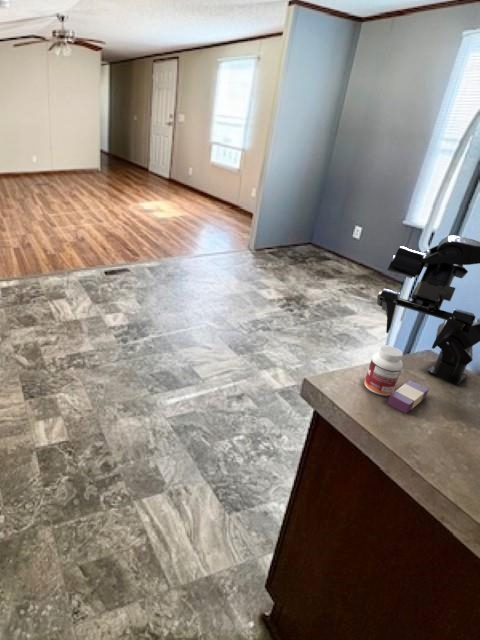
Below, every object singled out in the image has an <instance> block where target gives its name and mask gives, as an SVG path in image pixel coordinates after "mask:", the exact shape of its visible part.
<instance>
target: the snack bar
mask: <svg viewBox="0 0 480 640" xmlns="http://www.w3.org/2000/svg"><path fill="white" fill-rule="evenodd" d="M429 390H430V389H429V388H427V387H425V386H423V385H421V384H420V383H417V382H414V381H413V380H408V381H407V382H406V383H404V384H402V385H401V386H400V387H399V388H398V389H396V390H394V392H393V393H392V394H391V395H389V397H388V400H387V403H386V404H387V405H389V406H390V407H393V408H395V409H396V410H398V411H400V412H402V413H404V414H407V413H409V412H410V411H411V410H413V409H414V408H415V407H416V406H417V405H419V404H420V403H421V402H422V401H423V400H425V399H426V397H427V395H428V393H429Z"/></svg>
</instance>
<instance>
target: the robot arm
mask: <svg viewBox="0 0 480 640" xmlns="http://www.w3.org/2000/svg"><path fill="white" fill-rule="evenodd" d="M479 264H480V241H479V240H476V239H473V238H468V237H465V236H460V235H447V236H446V237H444V238H442V239H441V240H440V241H439V242H438V244H437V245H435V246H432V247H430V248H428V249H427V250H424V252H423V253H422V252H419V251H416V250H412V249H409V248H407V247H405V246H399V247H398V249H397V251H396V252H395V255H393V257H392V259H391V261H390V263H389V266H388V268H387V269H386V271H387V272H390V273H393V274H395V275H400V276H401V277H406V278H408V279H413V278H414V279H415V278H416V277H419V276H420V275H421V274H422V271H423V269H424V268H425V270H424V273H423V274H422V277H421V279H420V281H418V282H417V283H416V286H415V288H414V290H413V292H412V294H411V296H410V300H409V299H405V298H401V297H400V296H401V295H400V294H401V293H400V292H398V291H395V290H391V289H388V288H382V289H380V290H379V292H378V294H377V303H376V304H377V305H378V306H379V307H381V310H383V311H385V312H386V313H385V314H386V328H385V330H386V331H385V333H386V334H389V333H390V330H391V329H392V326H393V322H394V319H395V316H396V310H397V307H401V308H405V309H407V310H411V311H413V312H414V311H415V312H418V313H421V314H424V315H428V316H431V317H434V318H437V319H441V320H443V322H442V323H440V324H439V325H438V327H437V329H436V335H435V340H434V341H433V344H432V346H431V349H435V348H436V347H438V348H439V349H440V351H439V353H438V356H437V358H436V360H435V364H434V365H432V366H431V367H430V368H428V369H427V373H429V374H431V375H433V376H435V377H438V378H440V379H441V380H444V381H447V382H449V383H451V384H453V385H456V386H457V385H459V384H460V383H461V382H462V381H464V380H465V379H466V378H467V374H466V373H465V370H466V368H467V366H468V365H469V364H470V363H472V361H473V360H474V359H473V346H475V345H477V344H478V343H480V317H479V318H476V315H475V314H474V313H472V312H469V311H465V310H462V309H458V308H454V310H453V312H449V311H447V310H442V309H441V307H442V305H443V303H444V301H447V302H451V301H452V298H453V296H454V294H455V291H456V289H457V288H456V287H454V286H451V285H452V284H453V280H454V279H455V277H456V278H458V279H463V278H465V276H466V275H467V274H468V273H469V271H468V270H467V268H465V267H464V266H471V265H472V266H473V265H479Z"/></svg>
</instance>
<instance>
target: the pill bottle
mask: <svg viewBox="0 0 480 640" xmlns="http://www.w3.org/2000/svg"><path fill="white" fill-rule="evenodd" d="M403 356H404V353H403V351H402V350H400V349H399V348H397V347H395V346H392V345H387V344H382V345H380V346H379V348H378V351H377V352H376V353H374V354H373V355H372V357H371V360H370V363H369V366H368V370H367V372H366V375H365V379H364V386H365V387H366V388H367V390H368V391H370V392H372V393H374V394H377V395H379V396H384V397H385V396H390V395H391V394H392V393H393V392H395V391H396V390H395V389H396V387H397V385H398V381H399V378H400V376H401V373H402V370H403V367H404V364H403V361H402V358H403Z"/></svg>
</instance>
